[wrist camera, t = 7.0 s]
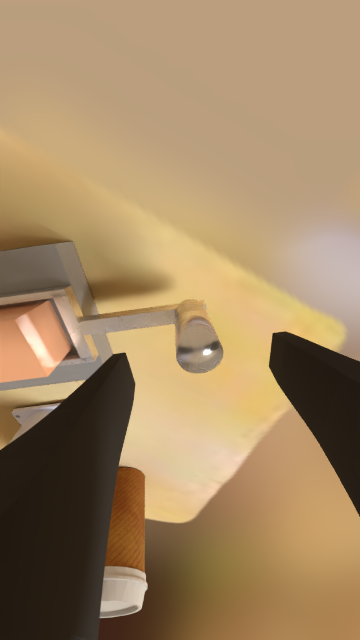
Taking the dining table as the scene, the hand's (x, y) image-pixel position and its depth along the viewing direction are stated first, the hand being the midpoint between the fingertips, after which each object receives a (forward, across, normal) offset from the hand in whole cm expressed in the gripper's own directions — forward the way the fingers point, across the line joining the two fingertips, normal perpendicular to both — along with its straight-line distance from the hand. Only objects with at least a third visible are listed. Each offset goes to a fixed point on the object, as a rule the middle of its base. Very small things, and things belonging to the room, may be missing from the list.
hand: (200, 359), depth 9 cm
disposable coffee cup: (+9, +13, +30) cm, 34 cm away
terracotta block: (+6, +13, 0) cm, 15 cm away
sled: (+6, +8, 0) cm, 10 cm away
